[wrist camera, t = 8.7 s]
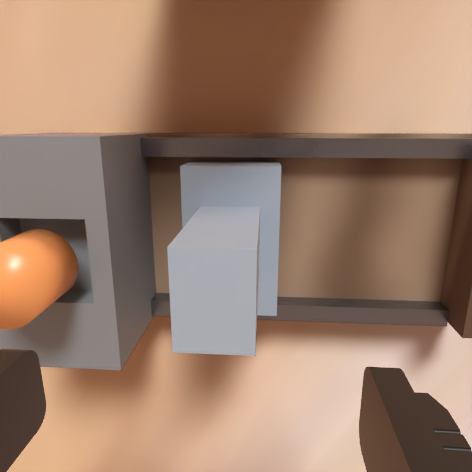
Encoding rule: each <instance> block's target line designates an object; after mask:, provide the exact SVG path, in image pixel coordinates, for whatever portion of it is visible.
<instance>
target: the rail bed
mask: <svg viewBox="0 0 472 472" xmlns="http://www.w3.org/2000/svg"><path fill="white" fill-rule="evenodd" d="M92 134H147V137H253V138H472V134H340V133H92ZM190 161H267V162H280V164H281V197H280V228H279V259H278V291H277V296H279V297H310V298H342V299H373V300H405V301H436V302H441V303H442V304H443V305H444V306H445V307H446V308H447V309H448V310H449V316H448V323H449V324H450V325H451V326H452V327H453V328H454V329H455V330H456V331H457V332H458V333H459V335H460V336H461V337H462V338H472V159H440V158H279V157H148V165H149V181H150V198H151V215H152V232H153V248H154V265H155V282H156V293H170V292H169V272H168V252H167V247H168V246H169V244H170V243H171V242H172V241H173V240H174V238H175V237H176V236H177V235H178V234H179V232H180V231H181V230H182V205H181V179H180V166H181V165H184V164H186V163H188V162H190Z"/></svg>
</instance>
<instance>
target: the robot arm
mask: <svg viewBox="0 0 472 472" xmlns="http://www.w3.org/2000/svg"><path fill="white" fill-rule="evenodd" d="M45 411H46V400H45V394H44V387H43V381H42V375H41V369H40V363H39V358H38V355H37V353H36V352H35V351H33V350H19V349H0V472H6V471H7V470H8V469H9V467H10V466H11V465H12V464H13V462H14V461H15V460H16V458H17V457H18V456H19V455H20V453H21V452H22V451H23V449H24V448H25V447H26V446H27V444H28V443H29V442H30V440H31V439H32V438H33V436H34V435H35V434H36V433H37V431H38V430H39V428H40V426H41V424H42V422H43V419H44V416H45ZM359 437H360V445H361V451H362V455H363V459H364V463H365V466H366V470H367V472H472V452H471V447H470V446H469V444H468V442H467V441H466V439H465V438H464V436H463V435H461V434H460V429H459V428H458V426H457V425H456V423H455V421H454V420H453V418H452V416H451V415H450V413H449V412H448V410H447V409H446V408H444V407H443V406H442V405H441V404H440V403H439V402H437V401H436V400H435V399H434V398H433V397H432V396H430V395H429V394H428V393H414V391H413V389H412V387H411V386H410V384H409V382H408V380H407V378H406V376H405V374H404V372H403V371H402V370H401V369H400V368H380V367H366V369H365V371H364V378H363V388H362V399H361V409H360V420H359Z"/></svg>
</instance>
